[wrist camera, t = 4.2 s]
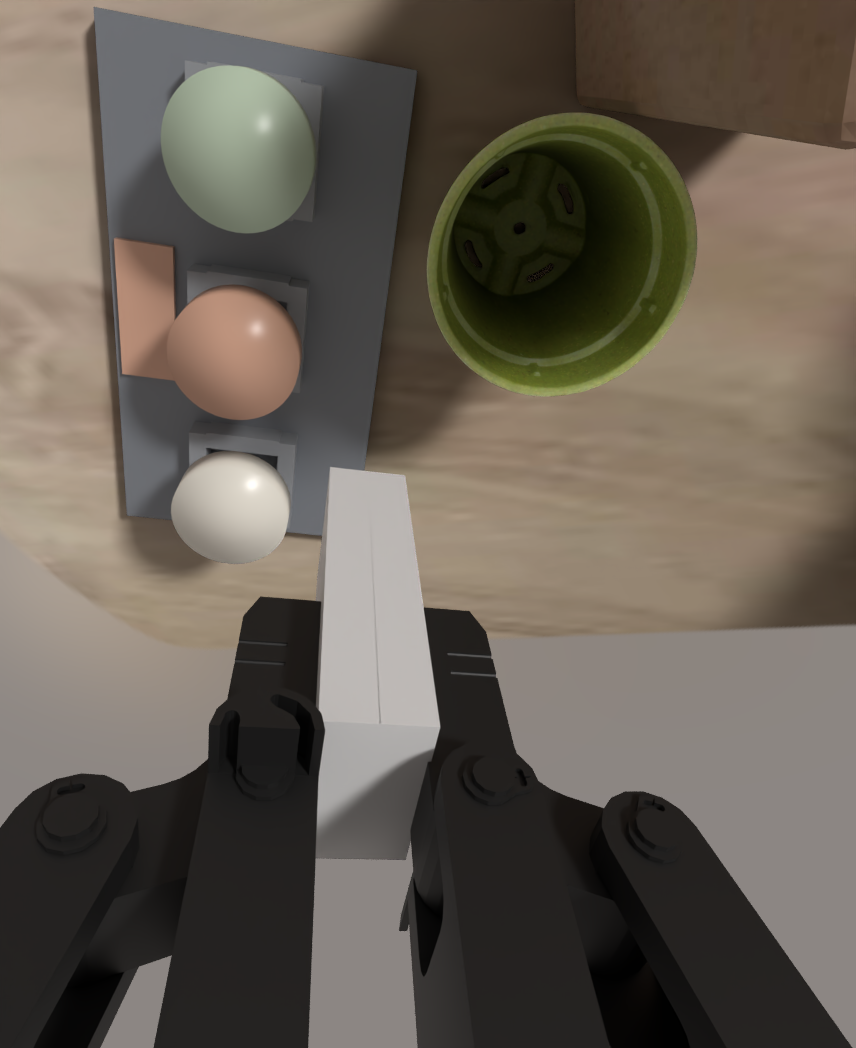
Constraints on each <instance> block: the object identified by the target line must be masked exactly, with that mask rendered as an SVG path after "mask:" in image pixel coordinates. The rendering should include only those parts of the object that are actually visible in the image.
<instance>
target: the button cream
mask: <svg viewBox="0 0 856 1048" xmlns="http://www.w3.org/2000/svg"><path fill="white" fill-rule="evenodd" d="M290 508H291V498H290V493H289V489H288V487H287V485H286V482H285V481H284V479H283V478H282V476H281V475H280V474H279V472H278V471H277V470H276V469H275V468H274V467H272V466H271V465H270V464H269V463H267V462H266V461H264V460H262V459H260V458H259V457H256V456H254V455H251V454H248V453H244V452H239V451H220V452H214V453H211V454H208V455H206V456H203V457H201V458H200V459H198V460H197V461H195V462H194V463H193V464H192V465H191V466H190V467H189V468H188V469H187V470H186V472H185V474H184V475H183V477H182V479H181V482H180V484H179V486H178V488H177V490H176V492H175V494H174V497H173V500H172V504H171V516H172V521H173V524H174V527H175V529H176V531H177V533H178V534H179V536H180V537H181V539H182V540H183V541H184V542H185V543H186V544H187V545H188V546H189V547H190V548H191V549H193V550H194V551H195V552H197V553H198V554H200V555H202V556H204V557H206V558H208V559H211V560H214V561H217V562H221V563H228V564H243V563H249V562H253V561H256V560H259V559H261V558H263V557H265V556H267V555H269V554H270V553H271V552H272V551H274V550H275V549H276V548H277V547H278V545H279V544H280V543H281V541H282V539H283V537H284V535H285V532H286V529H287V524H288V519H289V514H290Z"/></svg>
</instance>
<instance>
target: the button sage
mask: <svg viewBox="0 0 856 1048" xmlns="http://www.w3.org/2000/svg"><path fill="white" fill-rule="evenodd" d="M161 149H162V156H163V160H164V164H165V167H166V170H167V173H168V176H169V178H170V180H171V182H172V184H173V186H174V188H175V189H176V191H177V193H178V194H179V195H180V197H181V198H182V199H183V201H184V202H185V203H186V204H187V205H188V206H189V207H190V208H191V209H192V210H193V211H194V212H195V213H196V214H197V215H199V216H200V217H201V218H203V219H204V220H206V221H207V222H209V223H211V224H213V225H215V226H217V227H219V228H222V229H224V230H227V231H232V232H236V233H258V232H263V231H266V230H269V229H272V228H274V227H276V226H278V225H280V224H282V223H283V222H284V221H286V220H287V219H289V218H290V217H291V216H292V215H293V214H294V213H295V212H296V210H297V209H298V208H299V206H300V205H301V203H302V202H303V200H304V198H305V197H306V195H307V193H308V191H309V189H310V187H311V184H312V182H313V178H314V175H315V170H316V160H317V151H316V142H315V137H314V133H313V129H312V126H311V123H310V121H309V119H308V116H307V114H306V112H305V110H304V109H303V107H302V106H301V104H300V102H299V101H298V100H297V99H296V97H295V96H294V95H293V93H292V92H291V91H289V90H288V89H287V88H286V87H285V86H284V85H283V84H282V83H281V82H279V81H278V80H277V79H275V78H273V77H272V76H270V75H268V74H266V73H264V72H262V71H259V70H257V69H253V68H249V67H243V66H230V65H228V66H216V67H211V68H207V69H205V70H202V71H199V72H198V73H196V74H194V75H192V76H191V77H189V78H188V79H187V80H186V81H184V82H183V83H182V84H181V85H180V86H179V88H178V89H177V90H176V91H175V93H174V94H173V96H172V97H171V99H170V101H169V103H168V105H167V107H166V110H165V113H164V117H163V121H162V127H161Z"/></svg>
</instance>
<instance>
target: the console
mask: <svg viewBox="0 0 856 1048" xmlns="http://www.w3.org/2000/svg"><path fill="white" fill-rule="evenodd" d="M94 20H95V35H96V50H97V65H98V81H99V96H100V111H101V127H102V142H103V157H104V172H105V188H106V203H107V218H108V233H109V249H110V264H111V279H112V294H113V310H114V325H115V340H116V356H117V371H118V386H119V401H120V417H121V432H122V447H123V462H124V478H125V493H126V508H127V515H128V516H137V517H147V518H156V519H166V520H172V516H171V504H172V500H173V497H174V494H175V492H176V490H177V488H178V486H179V484H180V482H181V479H182V477H183V475H184V474H185V472H186V470H187V469H188V468H189V467H190V466H191V465H192V464H193V463H194V462H195V461H197V460H198V459H200V458H201V457H203V456H206V455H208V454H211V453H214V452H220V451H239V452H244V453H248V454H251V455H254V456H256V457H259V458H260V459H262V460H264V461H266V462H267V463H269V464H270V465H271V466H272V467H274V468H275V469H276V470H277V471H278V472H279V474H280V475H281V476H282V478H283V479H284V481H285V482H286V485H287V487H288V489H289V493H290V498H291V508H290V514H289V519H288V524H287V529H286V532H291V533H301V534H310V535H320V536H322V533H323V524H324V516H325V507H326V499H327V490H328V482H329V473H330V467H335V468H344V469H353V470H362V471H364V468H365V460H366V453H367V445H368V438H369V430H370V423H371V415H372V408H373V400H374V393H375V385H376V378H377V370H378V363H379V355H380V348H381V340H382V333H383V325H384V318H385V310H386V303H387V295H388V288H389V280H390V272H391V265H392V257H393V250H394V242H395V235H396V227H397V220H398V212H399V205H400V197H401V190H402V182H403V175H404V167H405V160H406V152H407V145H408V137H409V130H410V122H411V115H412V107H413V100H414V92H415V85H416V77H417V70H412V69H407V68H402V67H397V66H392V65H387V64H382V63H377V62H371V61H366V60H361V59H356V58H351V57H346V56H341V55H336V54H331V53H326V52H321V51H316V50H310V49H305V48H300V47H295V46H290V45H285V44H280V43H275V42H270V41H265V40H260V39H254V38H249V37H244V36H239V35H234V34H229V33H224V32H219V31H214V30H209V29H204V28H199V27H193V26H188V25H183V24H178V23H173V22H168V21H163V20H158V19H153V18H148V17H143V16H137V15H132V14H127V13H122V12H117V11H112V10H107V9H102V8H97V7H94ZM228 65H230V66H243V67H249V68H253V69H257V70H259V71H262V72H264V73H266V74H268V75H270V76H272V77H273V78H275V79H277V80H278V81H279V82H281V83H282V84H283V85H284V86H285V87H286V88H287V89H288V90H289V91H291V92H292V93H293V95H294V96H295V97H296V99H297V100H298V101H299V102H300V104H301V106H302V107H303V109H304V110H305V112H306V114H307V116H308V119H309V121H310V123H311V126H312V129H313V133H314V137H315V142H316V151H317V160H316V170H315V175H314V178H313V182H312V184H311V187H310V189H309V191H308V193H307V195H306V197H305V198H304V200H303V202H302V203H301V205H300V206H299V208H298V209H297V210H296V212H295V213H294V214H293V215H292V216H291V217H290V218H289V219H287V220H286V221H284V222H283V223H282V224H280V225H278V226H276V227H274V228H272V229H269V230H266V231H263V232H258V233H236V232H232V231H227V230H224V229H222V228H219V227H217V226H215V225H213V224H211V223H209V222H207V221H206V220H204V219H203V218H201V217H200V216H199V215H197V214H196V213H195V212H194V211H193V210H192V209H191V208H190V207H189V206H188V205H187V204H186V203H185V202H184V201H183V199H182V198H181V197H180V195H179V194H178V193H177V191H176V189H175V188H174V186H173V184H172V182H171V180H170V178H169V176H168V173H167V170H166V167H165V164H164V160H163V156H162V149H161V127H162V121H163V117H164V113H165V110H166V107H167V105H168V103H169V101H170V99H171V97H172V96H173V94H174V93H175V91H176V90H177V89H178V88H179V86H180V85H181V84H182V83H183V82H184V81H186V80H187V79H188V78H189V77H191V76H192V75H194V74H196V73H198V72H199V71H202V70H205V69H207V68H211V67H216V66H228ZM230 284H235V285H243V286H248V287H252V288H255V289H257V290H260V291H262V292H264V293H266V294H268V295H269V296H271V297H272V298H274V299H275V300H276V301H277V302H278V303H280V304H281V305H282V306H283V307H284V308H285V309H286V311H287V312H288V313H289V315H290V316H291V317H292V319H293V321H294V323H295V324H296V327H297V329H298V332H299V335H300V338H301V344H302V360H301V365H300V369H299V373H298V377H297V380H296V383H295V386H294V388H293V390H292V392H291V394H290V395H289V397H288V398H287V399H286V401H285V402H284V403H283V404H282V405H281V406H279V407H278V408H277V409H275V410H274V411H272V412H271V413H269V414H267V415H264V416H262V417H258V418H254V419H249V420H232V419H227V418H222V417H219V416H216V415H213V414H211V413H209V412H207V411H205V410H203V409H201V408H200V407H198V406H197V405H196V404H194V403H193V402H192V401H191V400H190V399H189V398H187V397H186V395H185V394H184V393H183V392H182V391H181V389H180V388H179V387H178V385H177V384H176V382H175V380H174V378H173V376H172V374H171V371H170V368H169V365H168V360H167V340H168V335H169V332H170V329H171V327H172V325H173V323H174V321H175V320H176V318H177V317H178V316H179V314H180V313H181V312H182V311H183V309H184V308H185V307H186V306H187V305H188V303H189V302H190V301H191V300H192V299H193V298H194V297H196V296H197V295H198V294H200V293H201V292H203V291H205V290H207V289H210V288H213V287H216V286H220V285H230Z"/></svg>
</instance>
